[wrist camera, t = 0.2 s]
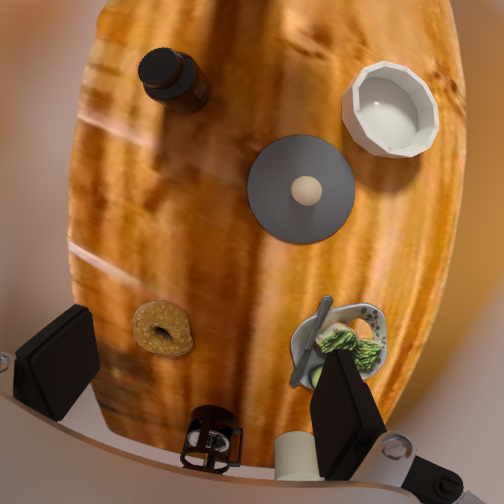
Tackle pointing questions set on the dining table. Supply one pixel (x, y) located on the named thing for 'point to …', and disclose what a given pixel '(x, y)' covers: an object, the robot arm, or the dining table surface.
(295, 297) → the dining table surface
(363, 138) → the bowl
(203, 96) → the supplement bottle
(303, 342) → the salad plate
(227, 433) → the french press
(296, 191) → the lid
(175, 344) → the bagel
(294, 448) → the can
